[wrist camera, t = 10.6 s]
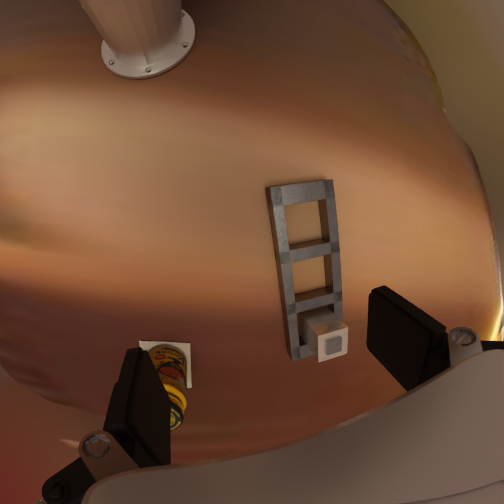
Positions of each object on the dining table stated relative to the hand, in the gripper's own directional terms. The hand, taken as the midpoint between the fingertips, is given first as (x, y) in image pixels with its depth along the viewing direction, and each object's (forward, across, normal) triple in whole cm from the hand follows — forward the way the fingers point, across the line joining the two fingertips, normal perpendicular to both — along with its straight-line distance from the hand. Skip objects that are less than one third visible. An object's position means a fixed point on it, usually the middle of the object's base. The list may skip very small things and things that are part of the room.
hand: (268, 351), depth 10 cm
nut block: (+24, -10, +15) cm, 30 cm away
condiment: (+24, +12, +18) cm, 32 cm away
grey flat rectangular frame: (+24, -10, +8) cm, 28 cm away
